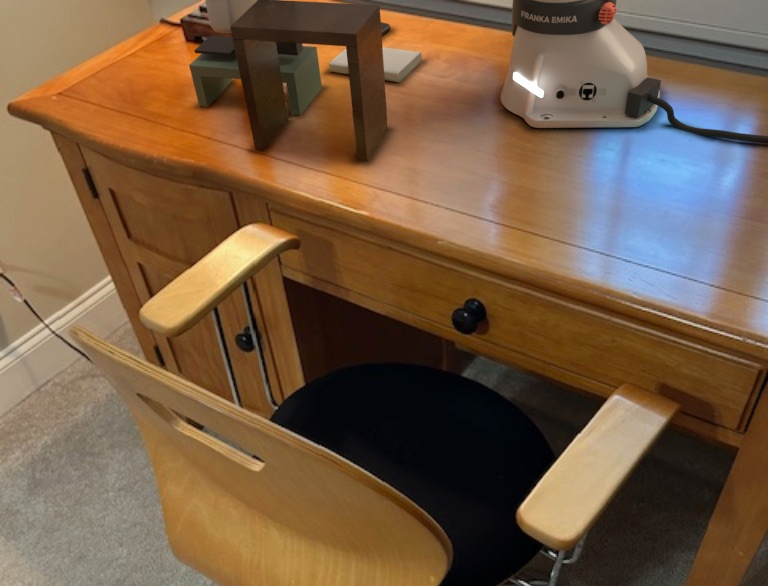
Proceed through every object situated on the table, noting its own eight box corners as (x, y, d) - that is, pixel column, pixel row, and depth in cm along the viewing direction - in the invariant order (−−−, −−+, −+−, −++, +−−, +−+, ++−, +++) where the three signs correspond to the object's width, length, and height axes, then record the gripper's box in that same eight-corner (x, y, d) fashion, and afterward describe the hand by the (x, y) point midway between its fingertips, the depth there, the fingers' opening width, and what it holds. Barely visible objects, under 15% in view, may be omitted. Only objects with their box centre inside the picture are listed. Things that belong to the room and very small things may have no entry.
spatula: (307, 44, 117) (305, 28, 115) (293, 60, 114) (290, 44, 112) (211, 38, 121) (207, 22, 119) (194, 53, 118) (191, 37, 116)
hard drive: (398, 84, 122) (329, 72, 126) (422, 62, 126) (354, 51, 130) (398, 72, 121) (328, 61, 125) (421, 51, 125) (353, 41, 129)
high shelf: (388, 130, 113) (379, 4, 100) (367, 161, 108) (356, 34, 95) (279, 120, 117) (258, -2, 105) (254, 150, 112) (229, 26, 100)
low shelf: (322, 88, 123) (316, 46, 118) (300, 115, 118) (293, 73, 113) (224, 80, 127) (215, 40, 122) (199, 106, 122) (188, 65, 117)
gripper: (227, -43, 98) (249, 74, 109) (290, -95, 110) (304, 15, 121) (182, -45, 100) (208, 71, 111) (249, -96, 112) (267, 13, 122)
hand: (259, 41), depth 116 cm, fingers closed on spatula, 2 cm apart
